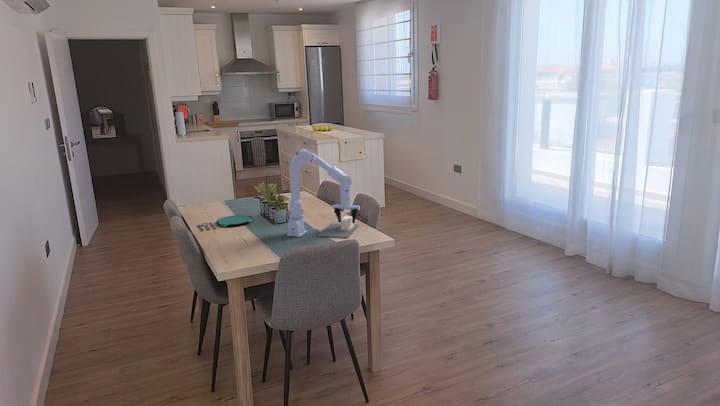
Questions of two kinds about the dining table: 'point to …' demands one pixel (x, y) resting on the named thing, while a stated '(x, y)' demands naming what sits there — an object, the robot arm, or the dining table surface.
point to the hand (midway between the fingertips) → (346, 222)
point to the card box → (346, 222)
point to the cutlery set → (230, 221)
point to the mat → (336, 231)
